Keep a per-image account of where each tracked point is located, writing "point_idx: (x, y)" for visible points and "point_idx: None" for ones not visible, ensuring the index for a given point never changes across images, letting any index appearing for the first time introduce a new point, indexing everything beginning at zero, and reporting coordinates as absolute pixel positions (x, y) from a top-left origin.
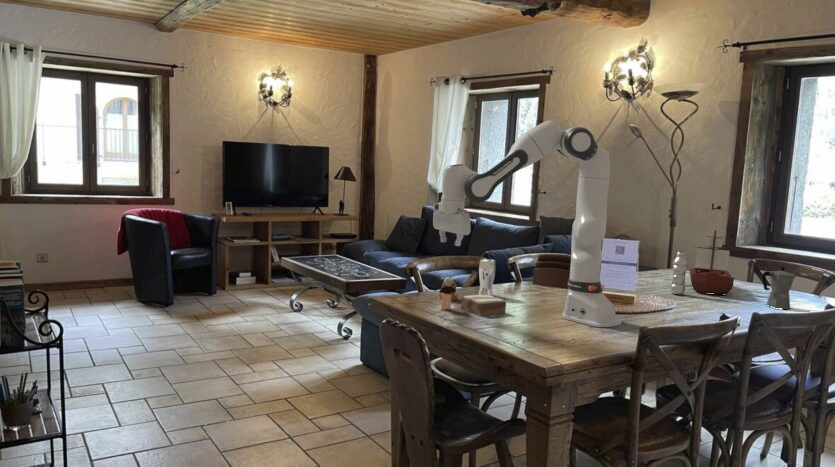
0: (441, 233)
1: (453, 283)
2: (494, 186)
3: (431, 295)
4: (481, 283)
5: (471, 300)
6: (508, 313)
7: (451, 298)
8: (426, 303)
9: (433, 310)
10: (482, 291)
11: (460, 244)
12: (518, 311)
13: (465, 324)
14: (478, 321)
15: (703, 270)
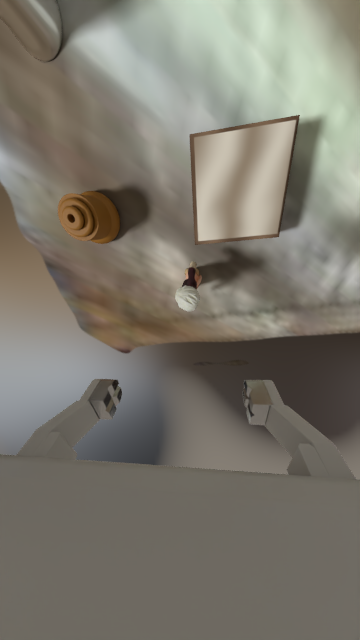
0: (69, 441)
1: (89, 212)
2: None
3: (67, 243)
4: (9, 14)
5: (233, 237)
6: None
7: (119, 223)
8: (137, 289)
9: None
10: (42, 40)
11: (273, 385)
12: (289, 45)
13: (298, 299)
14: (298, 263)
15: None
